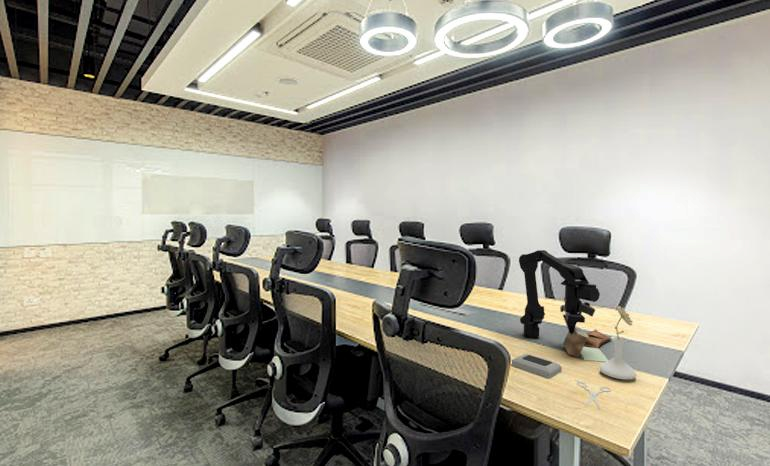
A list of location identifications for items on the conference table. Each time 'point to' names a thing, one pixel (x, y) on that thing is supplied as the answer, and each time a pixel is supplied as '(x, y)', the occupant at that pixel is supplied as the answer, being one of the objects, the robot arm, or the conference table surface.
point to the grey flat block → (537, 365)
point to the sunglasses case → (596, 339)
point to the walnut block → (575, 341)
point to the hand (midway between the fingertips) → (571, 333)
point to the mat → (592, 354)
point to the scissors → (593, 395)
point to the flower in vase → (619, 354)
